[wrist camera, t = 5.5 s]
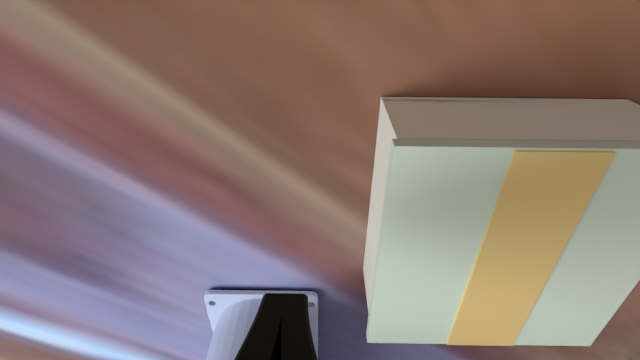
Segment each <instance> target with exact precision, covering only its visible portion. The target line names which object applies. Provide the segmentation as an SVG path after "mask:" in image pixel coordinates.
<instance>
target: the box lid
mask: <svg viewBox="0 0 640 360" xmlns="http://www.w3.org/2000/svg"><path fill="white" fill-rule="evenodd" d="M639 280H640V141H550V140H459V139H392V142H391V150H390V157H389V165H388V173H387V180H386V188H385V195H384V203H383V210H382V218H381V225H380V233H379V240H378V248H377V255H376V263H375V270H374V278H373V285H372V293H371V300H370V308H369V316H368V323H367V331H366V336H367V343H409V344H447V345H481V346H513V345H550V346H590V345H591V344H592V343H593V341H594V340H595V339H596V337H597V336H598V335H599V333H600V332H601V331H602V329H603V328H604V327H605V325H606V324H607V323H608V321H609V320H610V319H611V317H612V316H613V315H614V313H615V312H616V311H617V309H618V308H619V307H620V305H621V304H622V303H623V301H624V300H625V299H626V297H627V296H628V295H629V293H630V292H631V291H632V289H633V288H634V287H635V285H636V284H637V283H638V281H639Z"/></svg>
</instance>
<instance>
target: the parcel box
mask: <svg viewBox="0 0 640 360" xmlns="http://www.w3.org/2000/svg"><path fill="white" fill-rule="evenodd" d="M392 139H459V140H550V141H640V105H638V104H636V103H634V102H632V101H630V100H628V99H544V98H447V97H381V101H380V111H379V121H378V130H377V140H376V149H375V159H374V169H373V178H372V188H371V197H370V207H369V217H368V226H367V236H366V245H365V255H364V265H363V273H364V281H365V290H366V298H367V306H368V314H369V308H370V300H371V293H372V285H373V278H374V270H375V263H376V255H377V248H378V240H379V233H380V225H381V218H382V210H383V203H384V195H385V188H386V180H387V173H388V165H389V157H390V150H391V142H392Z"/></svg>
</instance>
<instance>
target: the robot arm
mask: <svg viewBox="0 0 640 360" xmlns="http://www.w3.org/2000/svg"><path fill="white" fill-rule="evenodd" d="M204 300H205V304H206V307H207V311H208V315H209V319H210V323H211V327H212V330H213V337H212V341H211V344H210V347H209V351H208V354H207V358H206V360H318V294H317V293H316V292H313V291H258V290H208V291H206V293H205V295H204Z"/></svg>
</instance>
